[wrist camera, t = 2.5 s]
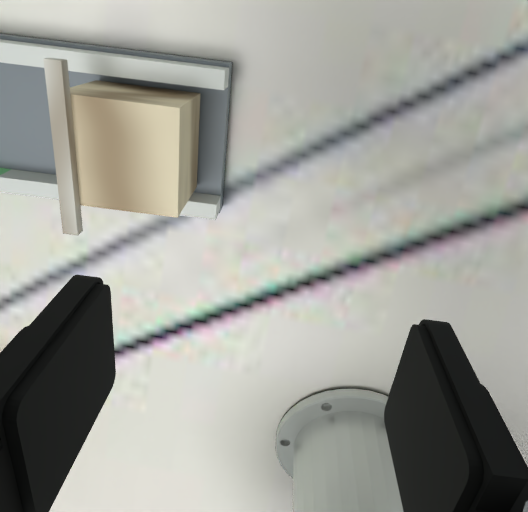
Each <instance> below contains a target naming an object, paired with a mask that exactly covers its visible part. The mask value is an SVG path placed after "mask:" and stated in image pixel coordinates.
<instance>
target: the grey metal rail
mask: <svg viewBox="0 0 528 512" xmlns="http://www.w3.org/2000/svg"><path fill="white" fill-rule="evenodd" d="M43 58H58V59H66V60H67V62H68V73H69V84H70V87H74V86H77V85H81V84H85V83H88V82H92V81H95V80H98V81H106V82H114V83H122V84H130V85H138V86H146V87H154V88H162V89H170V90H178V91H186V92H194V93H201V94H200V119H199V144H198V169H197V187H196V189H195V191H194V192H193V194H192V195H191V197H190V199H189V200H188V202H187V203H186V205H185V207H184V208H183V210H182V211H181V213H180V215H181V216H189V217H197V218H205V219H212V220H216V218H217V216H218V213H220V211H221V208H222V204H223V190H224V175H225V161H226V147H227V132H228V118H229V103H230V89H231V75H232V62H227V61H219V60H211V59H203V58H195V57H187V56H179V55H171V54H163V53H154V52H146V51H138V50H130V49H122V48H114V47H106V46H98V45H90V44H82V43H74V42H66V41H58V40H50V39H42V38H34V37H26V36H18V35H10V34H2V33H0V192H1V193H9V194H17V195H25V196H33V197H40V198H48V199H56V200H59V193H58V185H57V176H56V167H55V158H54V149H53V140H52V131H51V123H50V114H49V105H48V96H47V87H46V78H45V69H44V61H43Z"/></svg>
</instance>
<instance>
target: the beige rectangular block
mask: <svg viewBox="0 0 528 512" xmlns="http://www.w3.org/2000/svg"><path fill="white" fill-rule="evenodd" d="M43 61H44V69H45V78H46V87H47V96H48V105H49V114H50V123H51V131H52V140H53V149H54V158H55V167H56V176H57V185H58V193H59V202H60V211H61V220H62V229H63V234H71V235H79V234H80V233H81V232H82V231H83V229H82V218H81V207H80V205H83V206H91V207H99V208H107V209H114V210H122V211H130V212H138V213H146V214H154V215H161V216H169V217H177V218H178V216H179V215H180V213H181V211H182V210H183V208H184V207H185V205H186V203H187V202H188V200H189V199H190V197H191V195H192V194H193V192H194V191H195V189H196V187H197V169H198V144H199V119H200V94H201V93H194V92H186V91H178V90H170V89H162V88H154V87H146V86H138V85H130V84H122V83H114V82H106V81H98V80H95V81H92V82H88V83H85V84H81V85H77V86H74V87H70V84H69V73H68V62H67V60H66V59H58V58H43Z"/></svg>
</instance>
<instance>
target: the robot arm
mask: <svg viewBox="0 0 528 512" xmlns="http://www.w3.org/2000/svg"><path fill="white" fill-rule="evenodd" d="M115 372H116V371H115V355H114V339H113V323H112V308H111V292H110V287H109V286H108V285H104V284H103V281H102V279H101V278H98V277H90V276H83V275H75V276H73V277H72V278H71V279H70V280H69V282H68V283H67V284H66V285H65V286H64V287H63V288H62V289H61V291H60V292H59V293H58V294H57V295H56V296H55V297H54V298H53V299H52V301H51V302H50V303H49V304H48V305H47V306H46V307H45V308H44V310H43V311H42V312H41V313H40V314H39V315H38V316H37V317H36V319H35V320H34V321H33V322H32V323H31V324H30V325H29V326H27V327H25V328H23V329H22V330H21V331H20V332H19V333H18V334H17V335H16V336H15V337H14V338H13V340H12V341H11V342H10V343H9V344H8V345H7V346H6V347H5V348H4V349H3V351H2V352H1V353H0V512H49V510H50V508H51V506H52V504H53V502H54V500H55V499H56V497H57V495H58V493H59V491H60V489H61V487H62V485H63V483H64V481H65V479H66V477H67V475H68V473H69V471H70V469H71V467H72V465H73V463H74V461H75V459H76V457H77V455H78V453H79V452H80V450H81V448H82V446H83V444H84V442H85V440H86V438H87V436H88V434H89V432H90V430H91V428H92V426H93V424H94V422H95V420H96V418H97V416H98V414H99V412H100V410H101V408H102V407H103V405H104V403H105V401H106V399H107V397H108V395H109V393H110V391H111V389H112V387H113V384H114V380H115ZM276 453H277V458H278V460H279V462H280V464H281V466H282V467H283V469H284V470H285V471H286V473H287V474H288V475H289V476H290V477H292V478H293V512H528V467H527V465H526V463H525V461H524V459H523V457H522V456H521V454H520V452H519V450H518V448H517V446H516V444H515V442H514V440H513V438H512V436H511V434H510V432H509V430H508V428H507V427H506V425H505V423H504V421H503V419H502V417H501V415H500V413H499V411H498V409H497V407H496V405H495V403H494V401H493V399H492V397H491V396H490V394H489V392H488V390H487V389H486V388H485V387H484V386H483V385H481V384H480V382H479V380H478V378H477V376H476V374H475V372H474V370H473V368H472V366H471V364H470V362H469V360H468V358H467V356H466V354H465V352H464V351H463V349H462V347H461V345H460V343H459V341H458V339H457V337H456V335H455V333H454V331H453V329H452V327H451V325H450V324H449V323H447V322H441V321H433V320H425V319H424V320H422V321H421V322H420V324H419V325H415V324H414V325H412V327H411V329H410V332H409V335H408V338H407V341H406V344H405V347H404V350H403V354H402V357H401V360H400V363H399V366H398V369H397V372H396V375H395V378H394V381H393V384H392V387H391V390H390V394H389V397H388V396H386V395H383V394H380V393H376V392H373V391H369V390H361V389H337V390H330V391H325V392H322V393H318V394H315V395H312V396H310V397H308V398H306V399H304V400H302V401H300V402H299V403H298V404H296V405H295V406H294V407H292V408H291V409H290V410H289V411H288V412H287V413H286V415H285V416H284V417H283V418H282V420H281V422H280V424H279V426H278V430H277V434H276Z"/></svg>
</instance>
